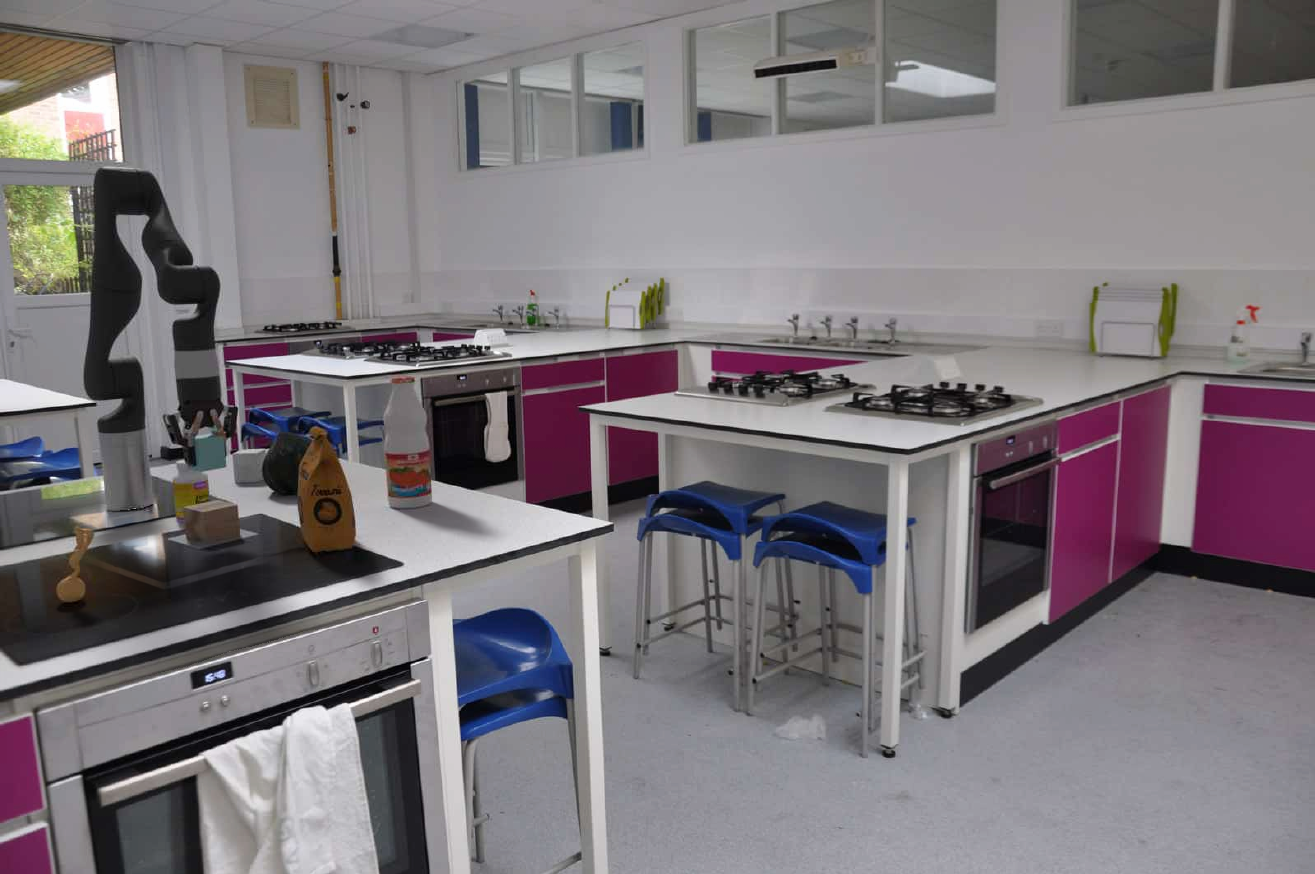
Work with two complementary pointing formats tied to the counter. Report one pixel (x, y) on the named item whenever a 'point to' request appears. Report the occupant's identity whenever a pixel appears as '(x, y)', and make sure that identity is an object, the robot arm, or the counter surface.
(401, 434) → the fruit juice
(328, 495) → the coffee package
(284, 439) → the squash
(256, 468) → the skincare box
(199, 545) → the slate pad
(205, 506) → the walnut block
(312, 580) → the counter surface
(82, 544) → the figurine
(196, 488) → the supplement bottle
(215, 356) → the robot arm
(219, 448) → the teal block
